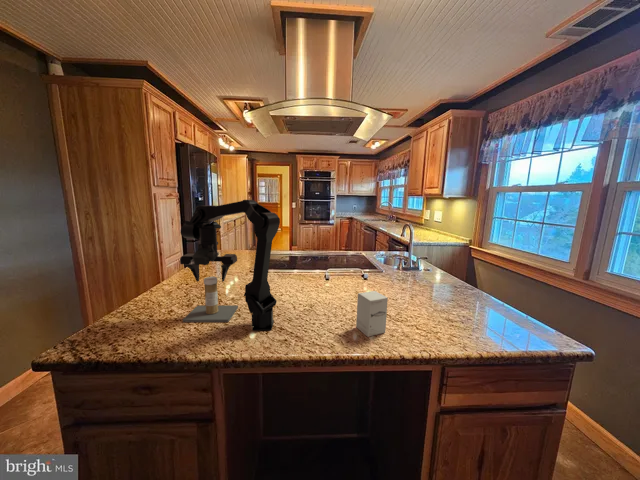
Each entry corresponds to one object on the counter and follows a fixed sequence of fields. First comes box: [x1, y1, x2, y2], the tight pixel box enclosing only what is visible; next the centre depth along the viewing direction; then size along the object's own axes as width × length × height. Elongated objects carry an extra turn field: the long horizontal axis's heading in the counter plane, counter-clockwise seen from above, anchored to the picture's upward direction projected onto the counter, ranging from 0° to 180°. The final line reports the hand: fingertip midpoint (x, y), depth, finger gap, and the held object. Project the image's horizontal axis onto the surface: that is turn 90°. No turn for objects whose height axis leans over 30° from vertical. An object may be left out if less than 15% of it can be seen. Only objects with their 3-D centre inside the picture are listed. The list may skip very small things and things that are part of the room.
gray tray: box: [182, 304, 239, 323], centre depth 94 cm, size 16×12×1 cm
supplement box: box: [355, 290, 389, 338], centre depth 84 cm, size 7×7×13 cm
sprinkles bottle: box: [203, 276, 219, 314], centre depth 93 cm, size 5×5×13 cm
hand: (210, 281), depth 92 cm, fingers open, 9 cm apart
